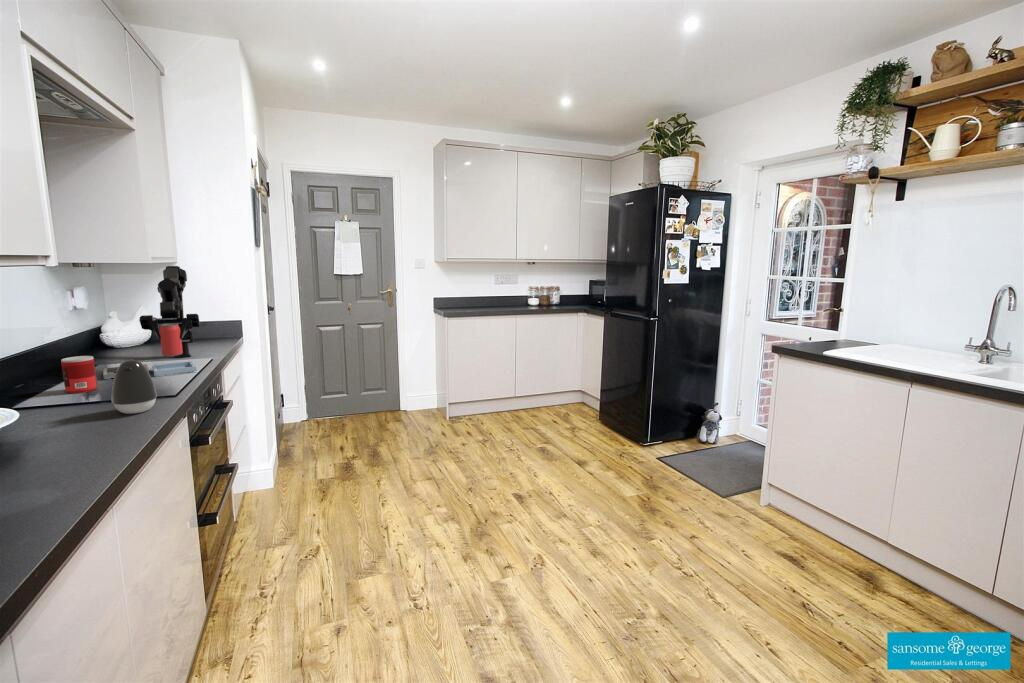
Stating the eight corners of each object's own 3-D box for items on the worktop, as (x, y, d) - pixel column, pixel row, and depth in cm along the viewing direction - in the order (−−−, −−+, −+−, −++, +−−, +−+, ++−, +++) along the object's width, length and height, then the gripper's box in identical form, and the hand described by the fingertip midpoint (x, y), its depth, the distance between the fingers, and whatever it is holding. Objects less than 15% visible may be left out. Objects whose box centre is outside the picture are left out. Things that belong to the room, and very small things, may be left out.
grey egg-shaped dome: (107, 418, 130) (100, 364, 128) (120, 408, 140) (114, 357, 137) (152, 414, 134) (146, 362, 132) (162, 404, 144) (157, 355, 141)
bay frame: (104, 373, 181) (103, 368, 181) (147, 368, 189) (146, 364, 189) (104, 380, 171) (103, 374, 171) (149, 375, 179) (148, 369, 179)
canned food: (103, 387, 161) (99, 356, 159) (80, 394, 153) (75, 360, 151) (83, 387, 162) (78, 355, 160) (58, 393, 154) (54, 360, 152)
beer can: (165, 357, 180) (162, 326, 178) (159, 355, 184) (156, 324, 182) (185, 354, 185) (182, 324, 183) (179, 352, 189) (176, 322, 187)
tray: (152, 370, 186) (152, 365, 186) (192, 366, 195) (191, 361, 194) (155, 377, 177) (154, 371, 176) (196, 372, 185) (196, 366, 184)
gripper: (137, 294, 179) (135, 327, 172) (196, 293, 189) (197, 324, 181) (143, 312, 188) (141, 345, 180) (199, 311, 197) (200, 341, 189)
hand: (170, 338), depth 182 cm, fingers closed on beer can, 7 cm apart
